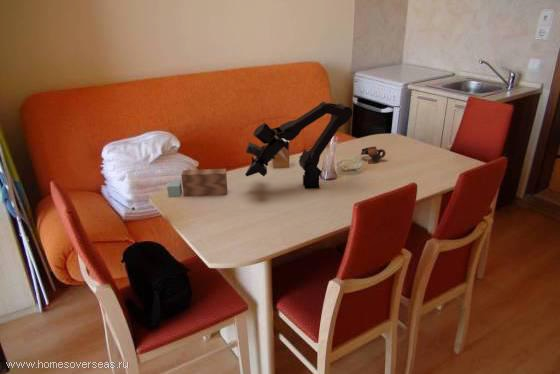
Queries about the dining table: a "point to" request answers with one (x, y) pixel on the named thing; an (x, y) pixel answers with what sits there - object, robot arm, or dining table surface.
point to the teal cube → (174, 189)
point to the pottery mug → (373, 154)
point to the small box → (281, 158)
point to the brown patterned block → (204, 182)
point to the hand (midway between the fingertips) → (246, 175)
